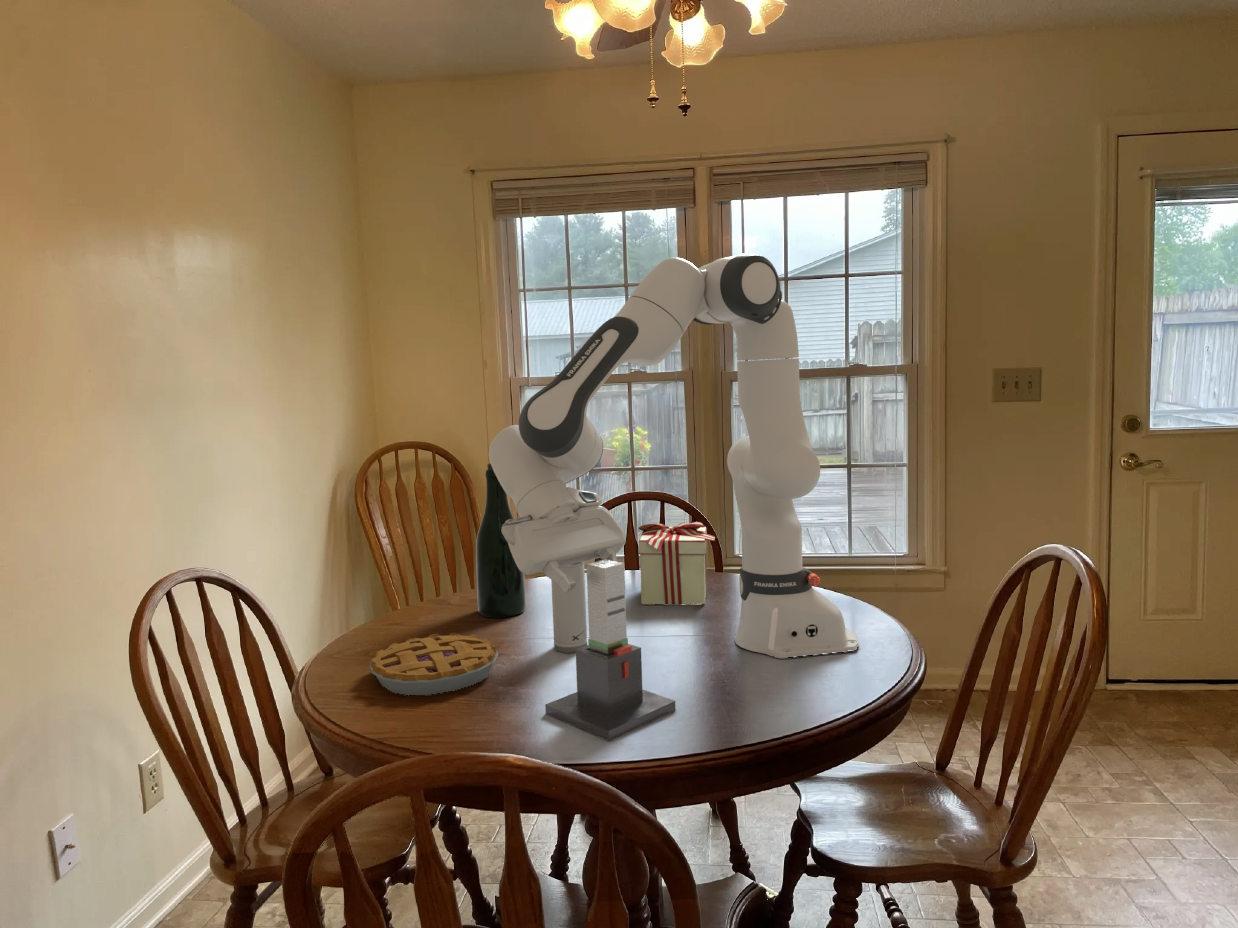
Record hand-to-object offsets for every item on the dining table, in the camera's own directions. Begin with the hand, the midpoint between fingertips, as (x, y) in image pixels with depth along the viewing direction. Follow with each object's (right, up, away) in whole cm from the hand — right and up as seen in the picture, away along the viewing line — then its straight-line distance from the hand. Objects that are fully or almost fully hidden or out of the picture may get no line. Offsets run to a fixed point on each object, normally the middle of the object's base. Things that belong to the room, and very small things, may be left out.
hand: (593, 582), depth 123 cm
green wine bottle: (-22, -15, +55) cm, 61 cm away
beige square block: (+2, -14, 0) cm, 14 cm away
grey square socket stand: (+3, -20, 0) cm, 20 cm away
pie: (-28, -19, +19) cm, 39 cm away
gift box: (+17, -13, +62) cm, 65 cm away
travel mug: (-5, -17, +30) cm, 35 cm away
